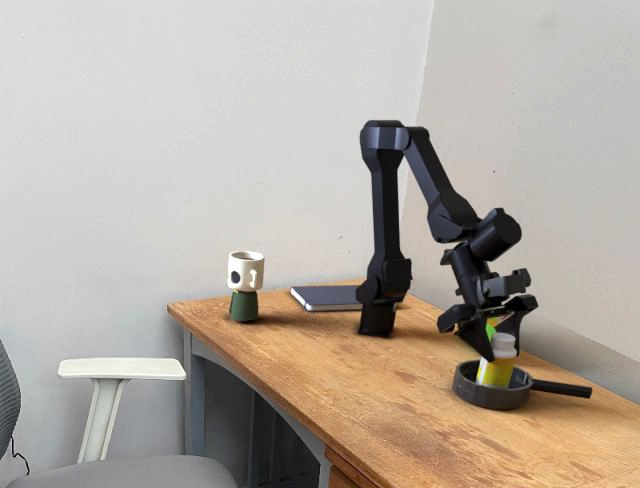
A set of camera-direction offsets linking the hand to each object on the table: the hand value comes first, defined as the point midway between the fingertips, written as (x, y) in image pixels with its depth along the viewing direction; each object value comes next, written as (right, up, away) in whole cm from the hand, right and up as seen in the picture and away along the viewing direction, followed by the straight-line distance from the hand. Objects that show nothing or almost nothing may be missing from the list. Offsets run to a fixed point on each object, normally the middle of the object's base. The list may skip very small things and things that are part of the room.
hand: (504, 359), depth 132 cm
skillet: (-1, -5, +5) cm, 7 cm away
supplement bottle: (-1, -5, +5) cm, 7 cm away
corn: (+3, +7, +25) cm, 26 cm away
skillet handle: (+10, -6, +2) cm, 12 cm away
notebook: (-23, +22, +44) cm, 54 cm away
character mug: (-45, +14, +30) cm, 56 cm away
